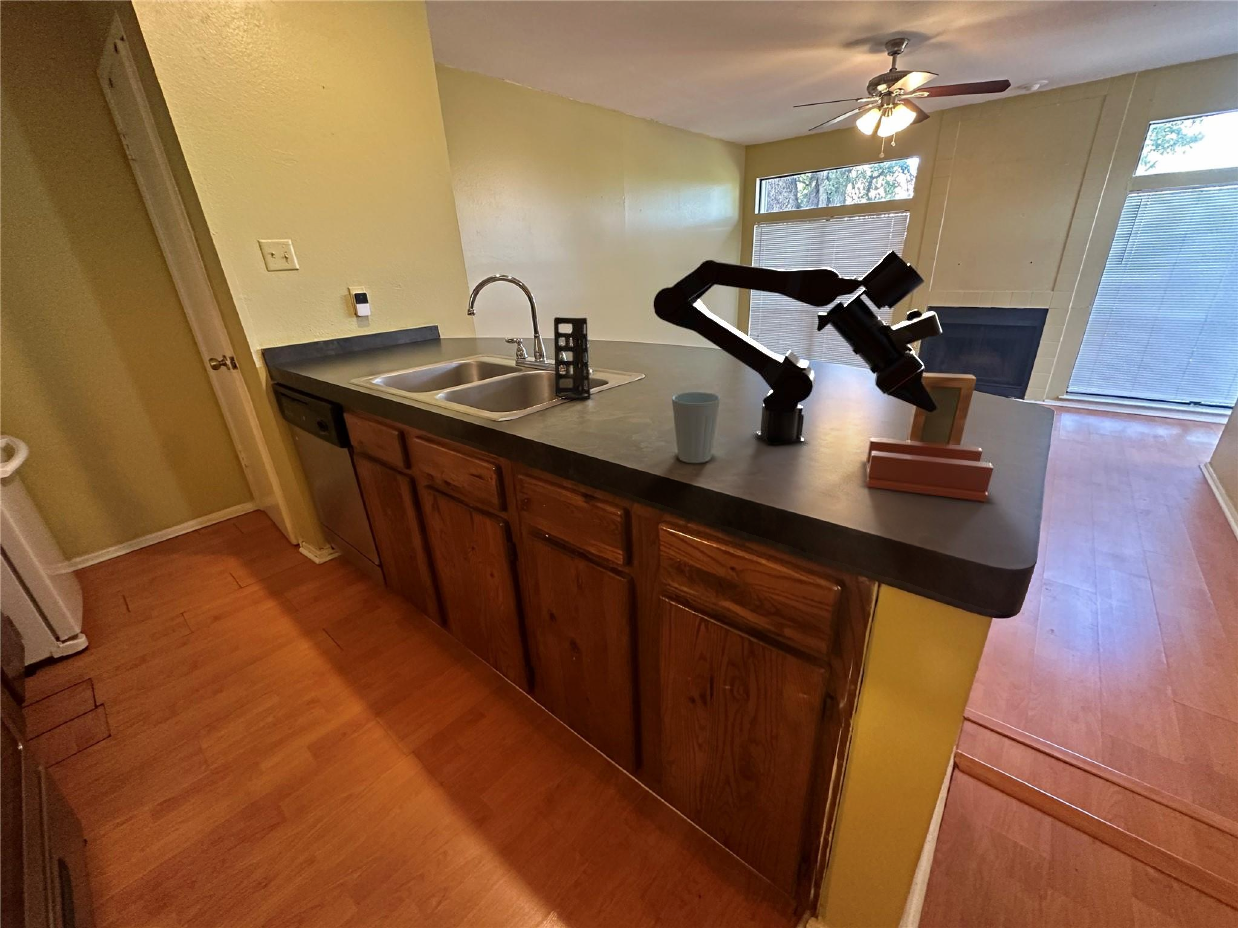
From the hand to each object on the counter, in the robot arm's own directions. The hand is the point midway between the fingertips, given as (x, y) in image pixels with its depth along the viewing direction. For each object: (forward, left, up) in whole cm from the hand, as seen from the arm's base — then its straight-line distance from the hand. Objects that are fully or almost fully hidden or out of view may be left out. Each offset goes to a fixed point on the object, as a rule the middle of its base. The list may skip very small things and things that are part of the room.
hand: (930, 403), depth 76 cm
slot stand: (-8, -10, -8) cm, 15 cm away
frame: (+1, -1, -8) cm, 9 cm away
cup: (-37, +7, -9) cm, 38 cm away
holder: (-54, +57, -9) cm, 79 cm away
